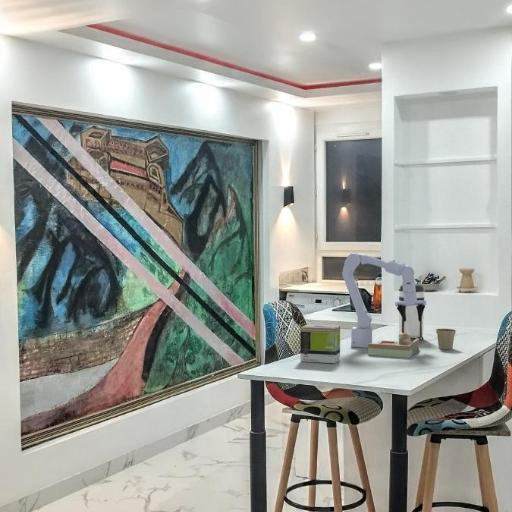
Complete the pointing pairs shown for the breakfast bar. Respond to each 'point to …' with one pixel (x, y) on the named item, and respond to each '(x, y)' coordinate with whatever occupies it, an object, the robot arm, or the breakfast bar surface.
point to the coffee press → (412, 315)
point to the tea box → (320, 343)
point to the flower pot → (445, 338)
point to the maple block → (405, 338)
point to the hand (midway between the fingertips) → (412, 321)
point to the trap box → (393, 348)
